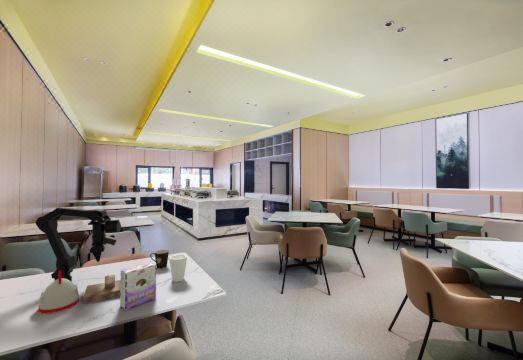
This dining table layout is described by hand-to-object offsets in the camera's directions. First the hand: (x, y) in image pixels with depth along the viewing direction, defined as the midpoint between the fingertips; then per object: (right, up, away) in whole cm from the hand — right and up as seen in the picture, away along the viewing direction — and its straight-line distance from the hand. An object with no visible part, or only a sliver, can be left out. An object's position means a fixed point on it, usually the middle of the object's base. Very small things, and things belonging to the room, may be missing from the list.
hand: (98, 261), depth 129 cm
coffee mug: (+21, -13, +29) cm, 38 cm away
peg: (+12, -12, -9) cm, 20 cm away
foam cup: (+41, -13, +7) cm, 43 cm away
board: (+10, -12, -10) cm, 19 cm away
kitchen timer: (-3, -13, -21) cm, 25 cm away
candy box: (+32, -13, -19) cm, 39 cm away
